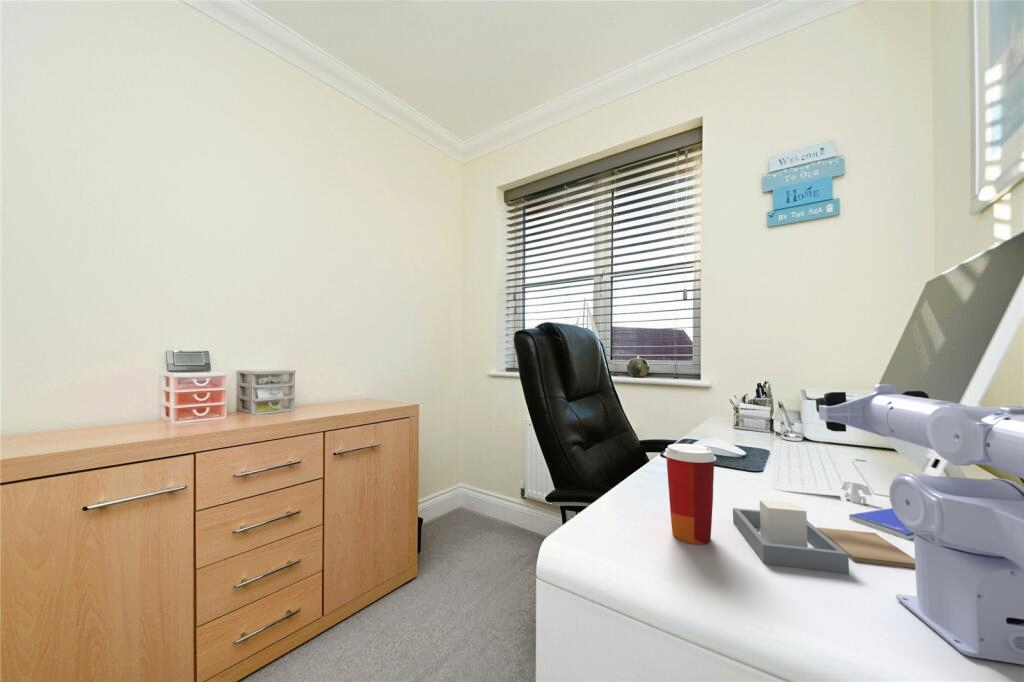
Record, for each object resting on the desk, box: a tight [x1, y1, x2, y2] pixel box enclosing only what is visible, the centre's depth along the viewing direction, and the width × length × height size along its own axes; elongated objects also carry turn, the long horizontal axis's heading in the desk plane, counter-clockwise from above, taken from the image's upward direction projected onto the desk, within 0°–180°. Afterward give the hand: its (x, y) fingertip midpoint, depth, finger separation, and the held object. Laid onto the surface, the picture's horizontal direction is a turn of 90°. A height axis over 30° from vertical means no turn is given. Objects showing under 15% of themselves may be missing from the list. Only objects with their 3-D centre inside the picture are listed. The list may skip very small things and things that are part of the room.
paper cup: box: [663, 443, 717, 545], centre depth 62 cm, size 8×8×14 cm
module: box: [759, 499, 809, 547], centre depth 59 cm, size 4×5×6 cm
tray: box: [732, 507, 850, 574], centre depth 59 cm, size 14×10×2 cm
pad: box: [816, 526, 916, 569], centre depth 58 cm, size 10×8×1 cm
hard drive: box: [848, 507, 914, 541], centre depth 67 cm, size 2×8×12 cm
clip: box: [839, 480, 873, 505], centre depth 78 cm, size 5×2×4 cm, turn 34°
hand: (846, 405), depth 61 cm, fingers open, 7 cm apart
